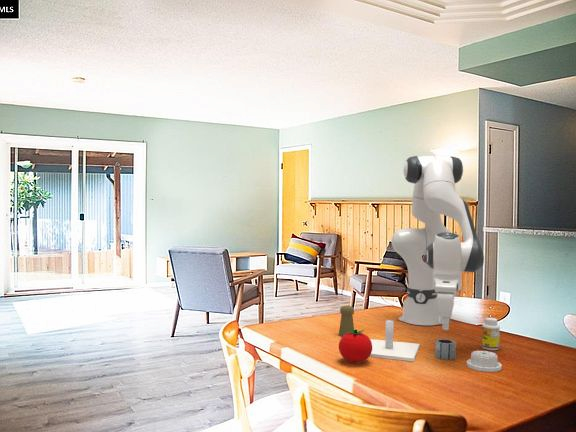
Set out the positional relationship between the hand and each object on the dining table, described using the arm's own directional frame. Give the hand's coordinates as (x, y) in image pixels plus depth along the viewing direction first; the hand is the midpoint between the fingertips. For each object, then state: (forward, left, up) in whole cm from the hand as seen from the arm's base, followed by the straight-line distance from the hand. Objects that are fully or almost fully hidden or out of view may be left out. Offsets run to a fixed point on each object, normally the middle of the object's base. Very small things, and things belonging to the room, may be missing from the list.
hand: (446, 326), depth 170 cm
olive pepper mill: (-15, -36, -10) cm, 41 cm away
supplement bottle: (-16, +14, -10) cm, 24 cm away
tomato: (+16, -26, -10) cm, 32 cm away
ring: (0, 0, -10) cm, 10 cm away
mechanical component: (+6, +11, -11) cm, 17 cm away
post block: (0, -18, -10) cm, 21 cm away
